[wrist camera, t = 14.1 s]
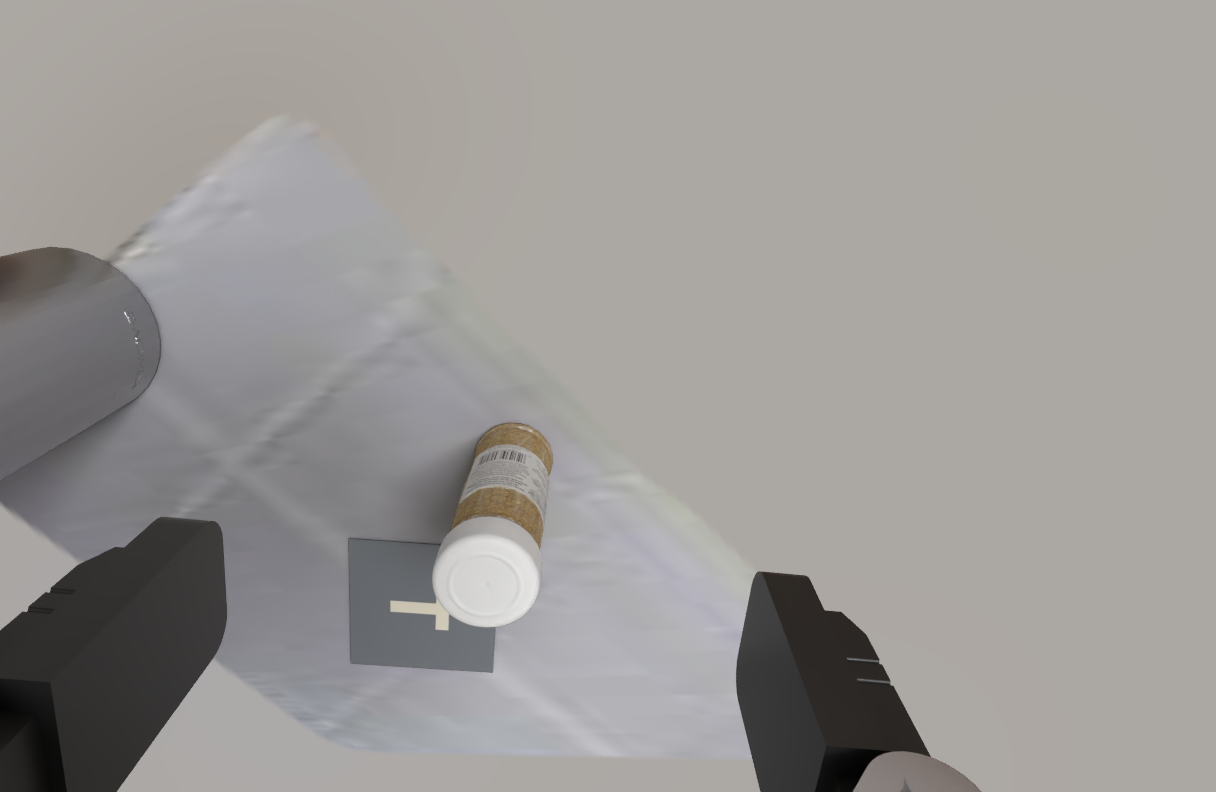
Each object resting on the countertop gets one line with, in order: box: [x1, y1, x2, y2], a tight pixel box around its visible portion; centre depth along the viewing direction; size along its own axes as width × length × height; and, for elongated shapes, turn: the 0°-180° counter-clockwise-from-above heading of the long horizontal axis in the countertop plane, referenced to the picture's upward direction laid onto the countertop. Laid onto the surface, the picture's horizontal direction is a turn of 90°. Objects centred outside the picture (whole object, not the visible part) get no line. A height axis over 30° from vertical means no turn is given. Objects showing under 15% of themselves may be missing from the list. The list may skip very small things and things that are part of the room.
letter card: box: [349, 538, 495, 673], centre depth 48 cm, size 9×9×1 cm
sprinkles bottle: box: [432, 423, 553, 627], centre depth 39 cm, size 5×5×14 cm
